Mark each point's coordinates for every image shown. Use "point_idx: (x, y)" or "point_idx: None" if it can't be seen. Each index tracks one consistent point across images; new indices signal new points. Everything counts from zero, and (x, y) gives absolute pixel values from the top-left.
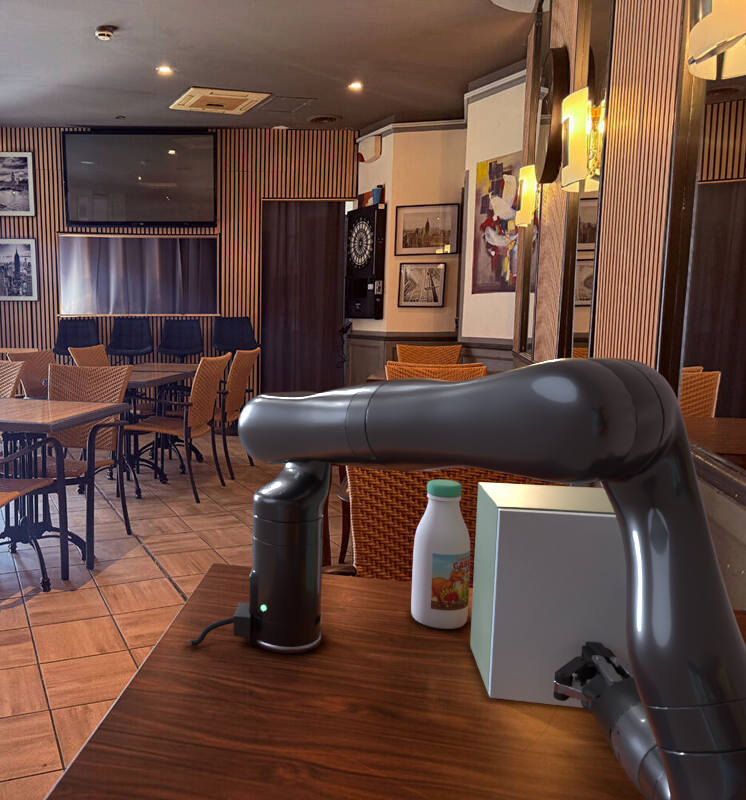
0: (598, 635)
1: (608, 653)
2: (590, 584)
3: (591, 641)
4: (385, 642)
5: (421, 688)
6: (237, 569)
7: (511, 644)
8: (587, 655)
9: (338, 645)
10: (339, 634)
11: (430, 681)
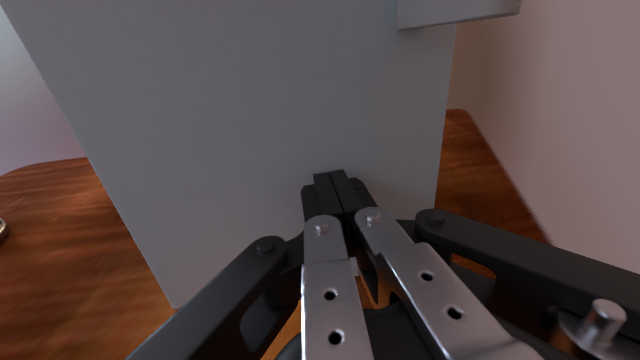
0: (337, 154)
1: (354, 197)
2: (297, 19)
3: (325, 170)
4: (104, 222)
5: (57, 321)
6: (38, 165)
7: (165, 216)
8: (304, 215)
9: (18, 248)
10: (48, 226)
11: (96, 292)
